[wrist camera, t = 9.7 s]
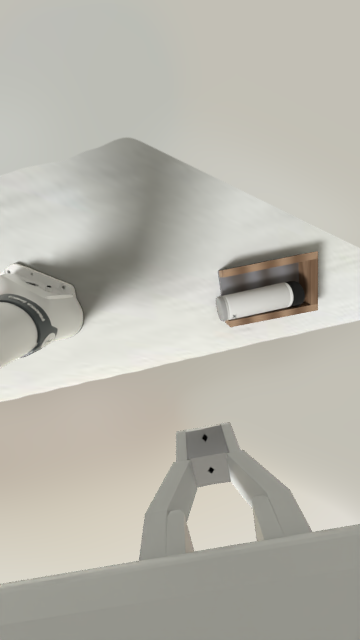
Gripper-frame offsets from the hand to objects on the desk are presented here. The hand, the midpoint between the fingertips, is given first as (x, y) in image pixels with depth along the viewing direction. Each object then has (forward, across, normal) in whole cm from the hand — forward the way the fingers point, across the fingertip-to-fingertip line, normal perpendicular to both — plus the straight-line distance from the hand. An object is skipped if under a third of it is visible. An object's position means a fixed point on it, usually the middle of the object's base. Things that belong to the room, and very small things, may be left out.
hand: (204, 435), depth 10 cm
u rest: (+39, -22, -1) cm, 45 cm away
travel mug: (+35, -9, +2) cm, 36 cm away
